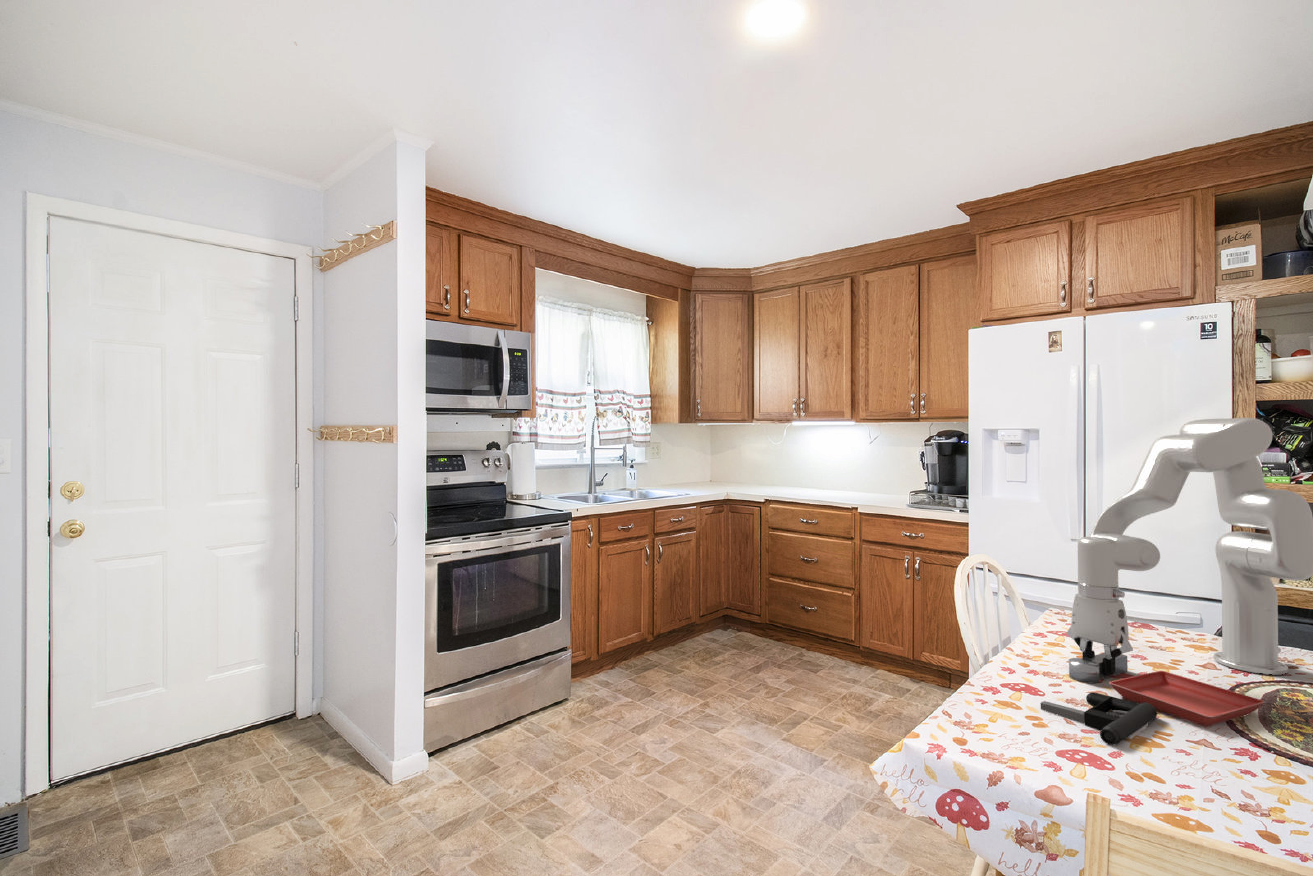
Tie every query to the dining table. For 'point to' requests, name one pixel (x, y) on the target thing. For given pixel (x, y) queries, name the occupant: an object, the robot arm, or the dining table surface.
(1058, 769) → the dining table surface
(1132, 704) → the door handle
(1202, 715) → the plant saucer
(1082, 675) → the ball joint lever
